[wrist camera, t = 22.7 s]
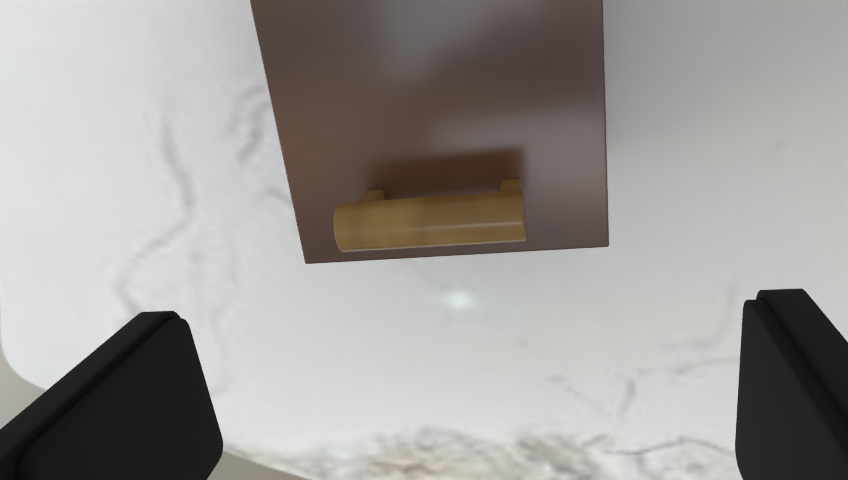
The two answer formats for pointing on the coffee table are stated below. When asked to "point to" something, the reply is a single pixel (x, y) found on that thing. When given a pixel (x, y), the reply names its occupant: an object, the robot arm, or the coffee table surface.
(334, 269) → the coffee table surface
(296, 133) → the lid
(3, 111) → the coffee table surface
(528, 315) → the coffee table surface
